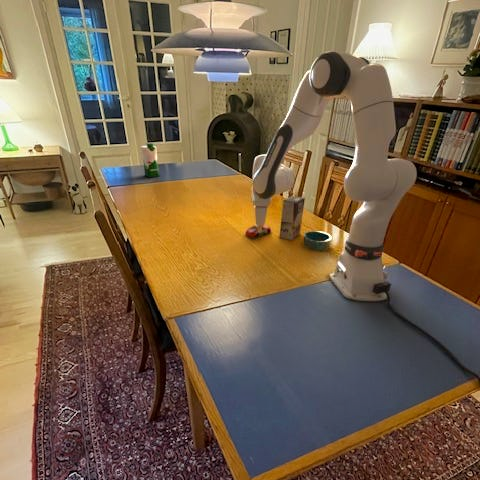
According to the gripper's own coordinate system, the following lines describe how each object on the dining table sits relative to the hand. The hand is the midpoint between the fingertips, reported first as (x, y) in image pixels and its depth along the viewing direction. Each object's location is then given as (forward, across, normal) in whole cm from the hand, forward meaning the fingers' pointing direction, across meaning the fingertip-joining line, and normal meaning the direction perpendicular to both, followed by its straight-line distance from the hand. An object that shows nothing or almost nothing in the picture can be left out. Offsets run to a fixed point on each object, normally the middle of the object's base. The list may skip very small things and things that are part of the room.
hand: (260, 227), depth 151 cm
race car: (+3, -1, -1) cm, 4 cm away
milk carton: (+3, -94, -77) cm, 121 cm away
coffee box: (+3, -1, +14) cm, 14 cm away
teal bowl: (+3, +10, +24) cm, 26 cm away
